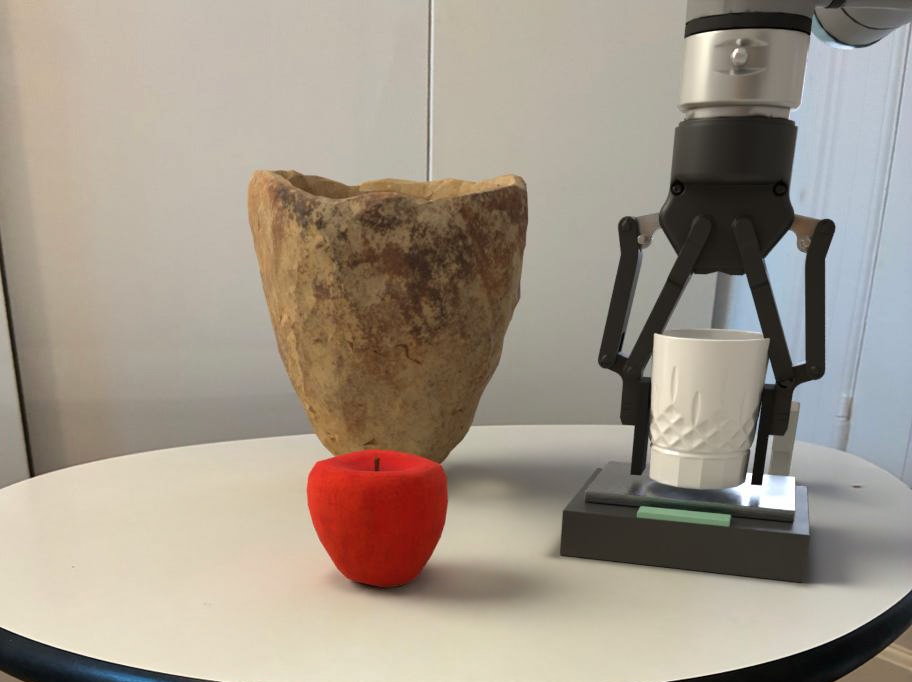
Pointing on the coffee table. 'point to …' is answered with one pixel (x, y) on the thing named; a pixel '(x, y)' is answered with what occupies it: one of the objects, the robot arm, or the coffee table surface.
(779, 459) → the beige upright slab
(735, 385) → the white cup
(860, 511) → the coffee table surface
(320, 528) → the apple
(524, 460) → the coffee table surface
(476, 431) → the coffee table surface
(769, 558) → the scale
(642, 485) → the scale pan
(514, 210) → the brown clay pot
